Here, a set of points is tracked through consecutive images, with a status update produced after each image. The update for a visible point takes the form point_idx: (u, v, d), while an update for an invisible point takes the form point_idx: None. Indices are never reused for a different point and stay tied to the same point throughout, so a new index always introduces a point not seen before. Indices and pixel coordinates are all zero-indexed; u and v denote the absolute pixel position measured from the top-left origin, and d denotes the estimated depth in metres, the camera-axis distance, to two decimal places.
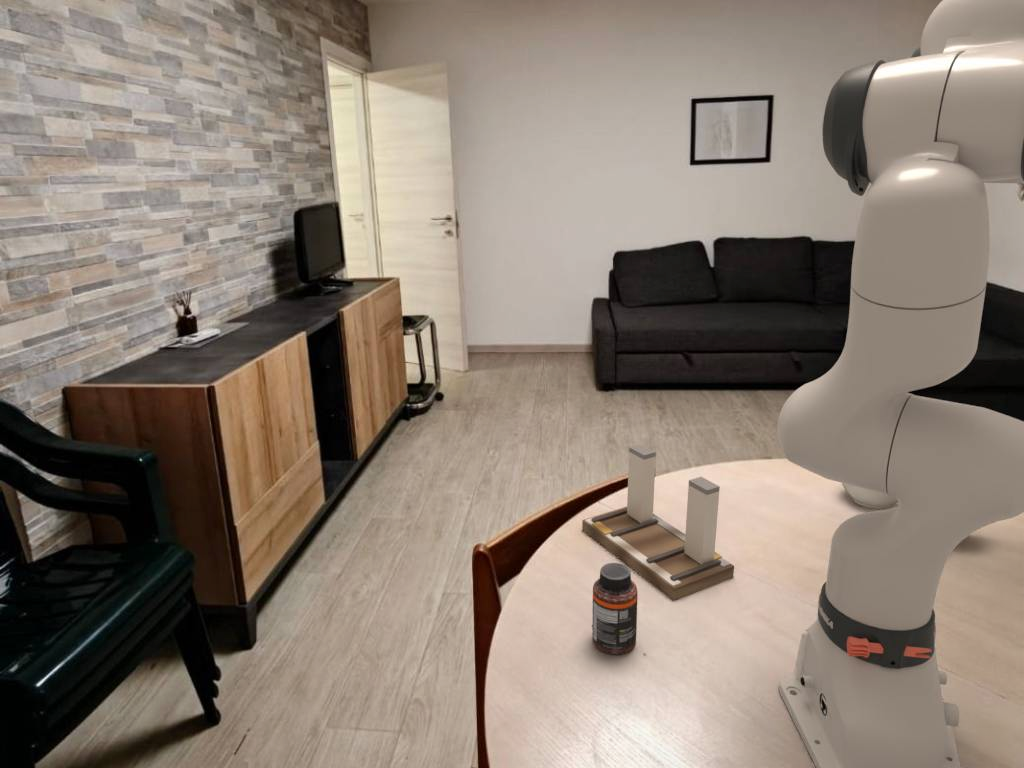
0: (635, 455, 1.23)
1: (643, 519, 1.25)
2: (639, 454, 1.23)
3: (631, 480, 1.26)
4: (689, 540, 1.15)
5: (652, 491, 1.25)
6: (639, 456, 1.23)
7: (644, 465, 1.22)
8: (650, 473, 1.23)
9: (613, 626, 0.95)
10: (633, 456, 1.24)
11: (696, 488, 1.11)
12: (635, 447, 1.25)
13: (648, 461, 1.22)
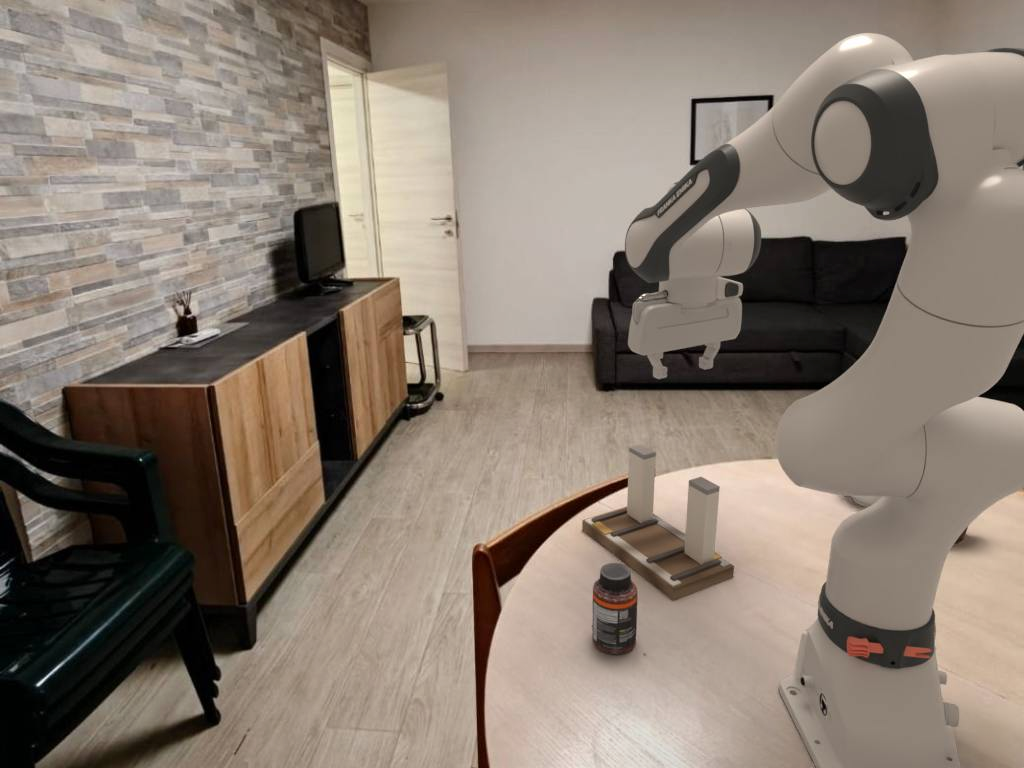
0: (635, 455, 1.23)
1: (643, 519, 1.25)
2: (639, 454, 1.23)
3: (631, 480, 1.26)
4: (689, 540, 1.15)
5: (652, 491, 1.25)
6: (639, 456, 1.23)
7: (644, 465, 1.22)
8: (650, 473, 1.23)
9: (613, 626, 0.95)
10: (633, 456, 1.24)
11: (696, 488, 1.11)
12: (635, 447, 1.25)
13: (648, 461, 1.22)
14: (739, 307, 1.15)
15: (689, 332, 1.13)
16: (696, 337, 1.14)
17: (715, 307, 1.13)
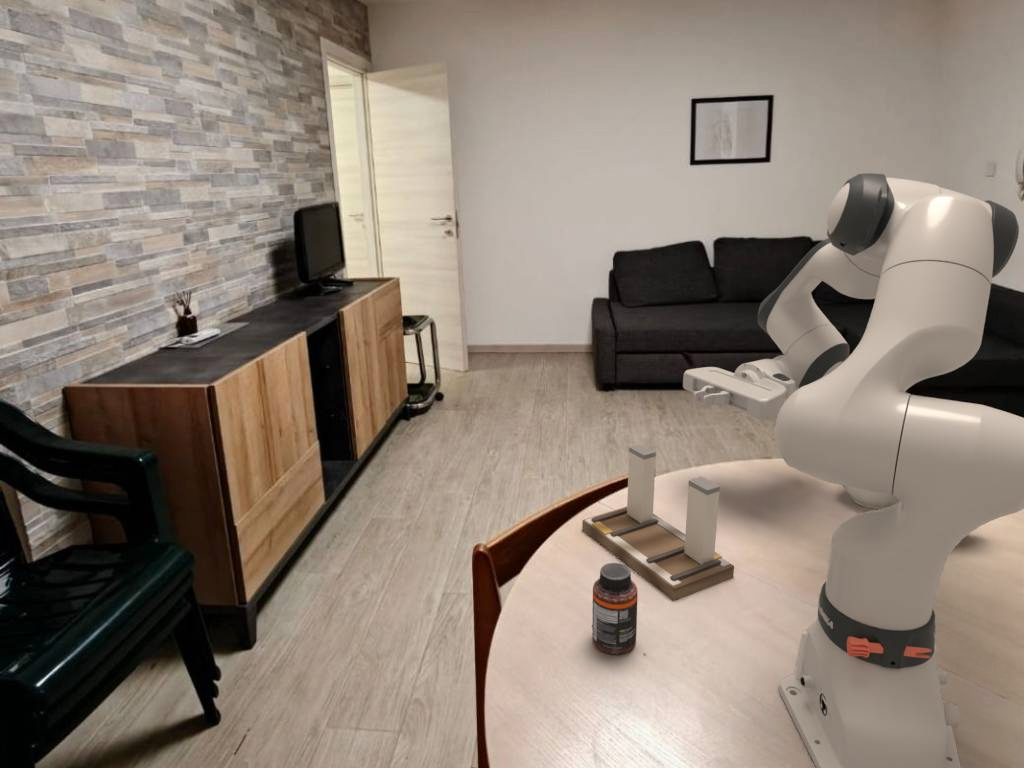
0: (635, 455, 1.23)
1: (643, 519, 1.25)
2: (639, 454, 1.23)
3: (631, 480, 1.26)
4: (689, 540, 1.15)
5: (652, 491, 1.25)
6: (639, 456, 1.23)
7: (644, 465, 1.22)
8: (650, 473, 1.23)
9: (613, 626, 0.95)
10: (633, 456, 1.24)
11: (696, 488, 1.11)
12: (635, 447, 1.25)
13: (648, 461, 1.22)
14: (781, 389, 1.24)
15: (727, 381, 1.30)
16: (729, 384, 1.29)
17: (760, 383, 1.28)
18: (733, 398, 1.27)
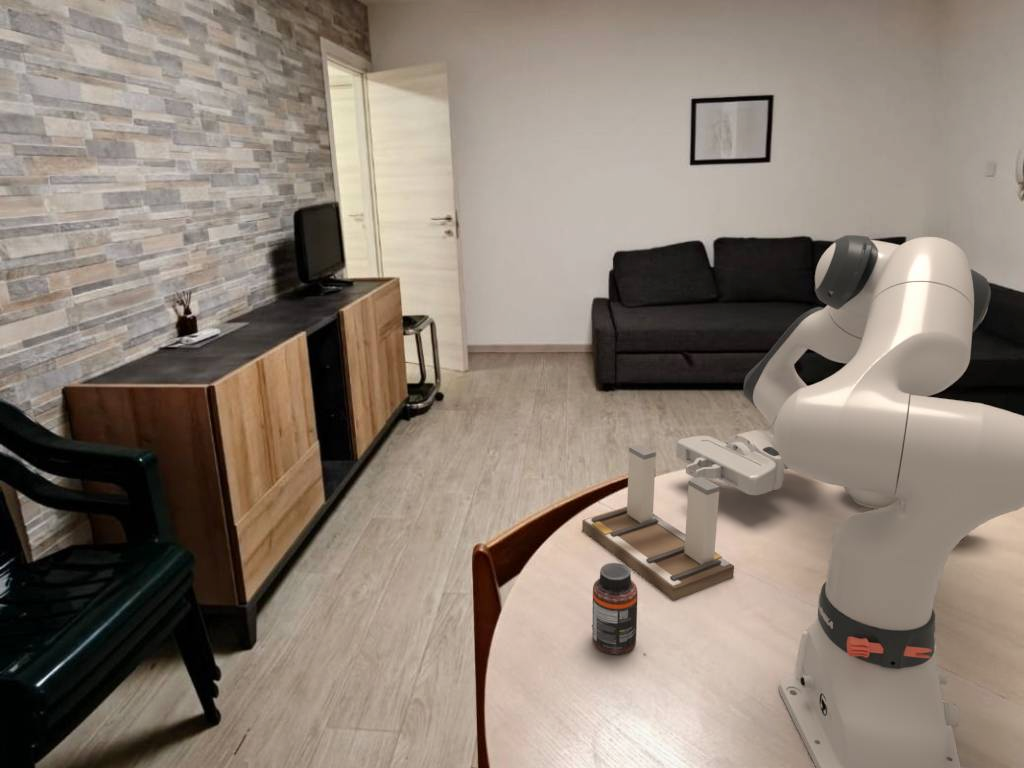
0: (635, 455, 1.23)
1: (643, 519, 1.25)
2: (639, 454, 1.23)
3: (631, 480, 1.26)
4: (689, 540, 1.15)
5: (652, 491, 1.25)
6: (639, 456, 1.23)
7: (644, 465, 1.22)
8: (650, 473, 1.23)
9: (613, 626, 0.95)
10: (633, 456, 1.24)
11: (696, 488, 1.11)
12: (635, 447, 1.25)
13: (648, 461, 1.22)
14: (770, 465, 1.28)
15: (718, 453, 1.34)
16: (720, 457, 1.33)
17: (751, 456, 1.32)
18: (724, 472, 1.31)
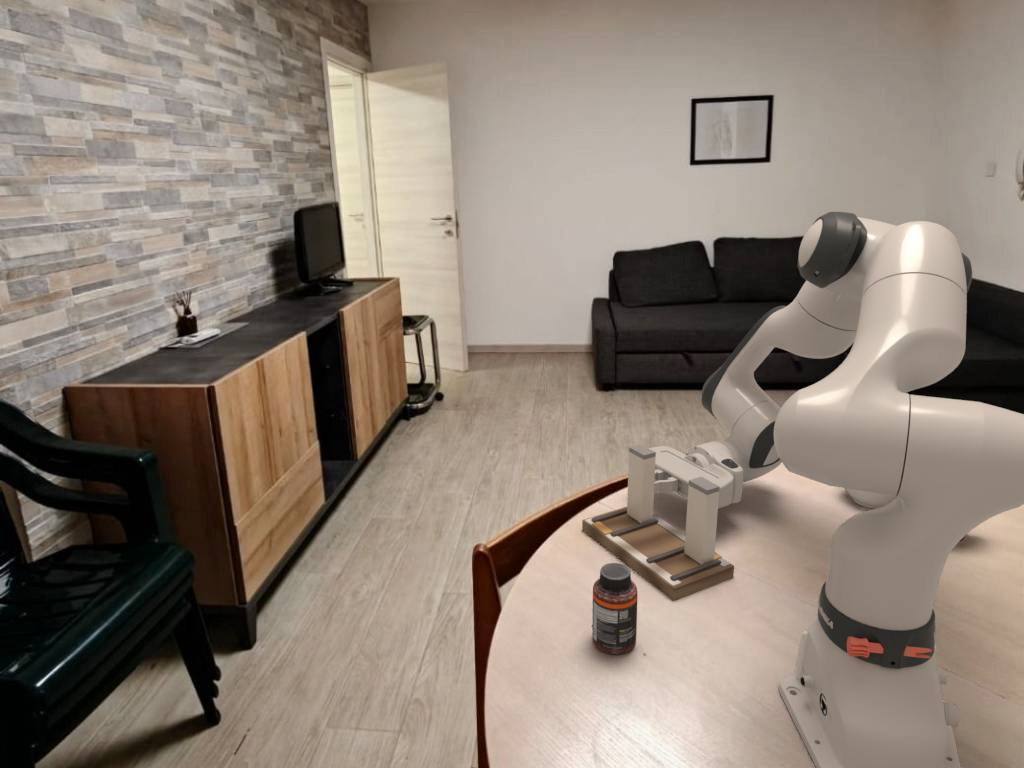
0: (635, 455, 1.23)
1: (643, 519, 1.25)
2: (639, 454, 1.23)
3: (631, 480, 1.26)
4: (689, 540, 1.15)
5: (652, 491, 1.25)
6: (639, 456, 1.23)
7: (644, 465, 1.22)
8: (650, 473, 1.23)
9: (613, 626, 0.95)
10: (633, 456, 1.24)
11: (696, 488, 1.11)
12: (635, 447, 1.25)
13: (648, 461, 1.22)
14: (727, 478, 1.23)
15: (676, 465, 1.30)
16: (678, 469, 1.28)
17: (709, 469, 1.27)
18: (681, 485, 1.26)
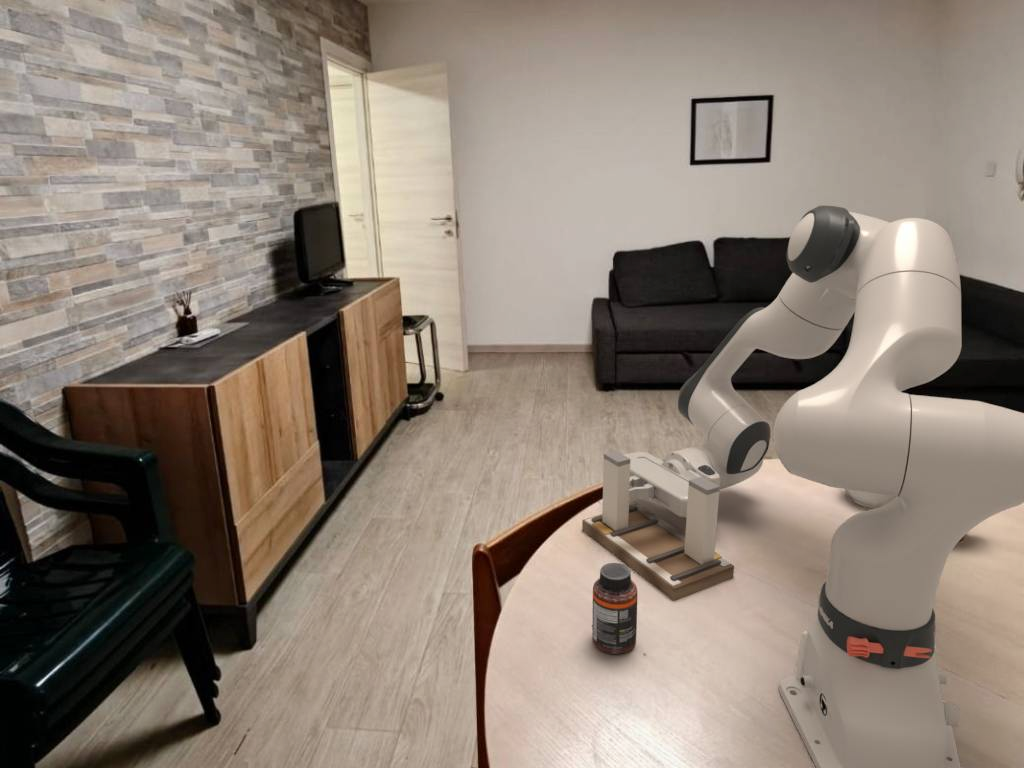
0: (610, 461, 1.21)
1: (618, 527, 1.23)
2: (613, 461, 1.20)
3: (606, 487, 1.23)
4: (689, 540, 1.15)
5: (627, 499, 1.22)
6: (613, 463, 1.20)
7: (618, 472, 1.20)
8: (625, 480, 1.21)
9: (613, 626, 0.95)
10: (607, 463, 1.22)
11: (696, 488, 1.11)
12: (610, 454, 1.22)
13: (623, 468, 1.20)
14: None
15: (652, 472, 1.27)
16: (654, 476, 1.26)
17: (685, 475, 1.25)
18: (657, 492, 1.24)
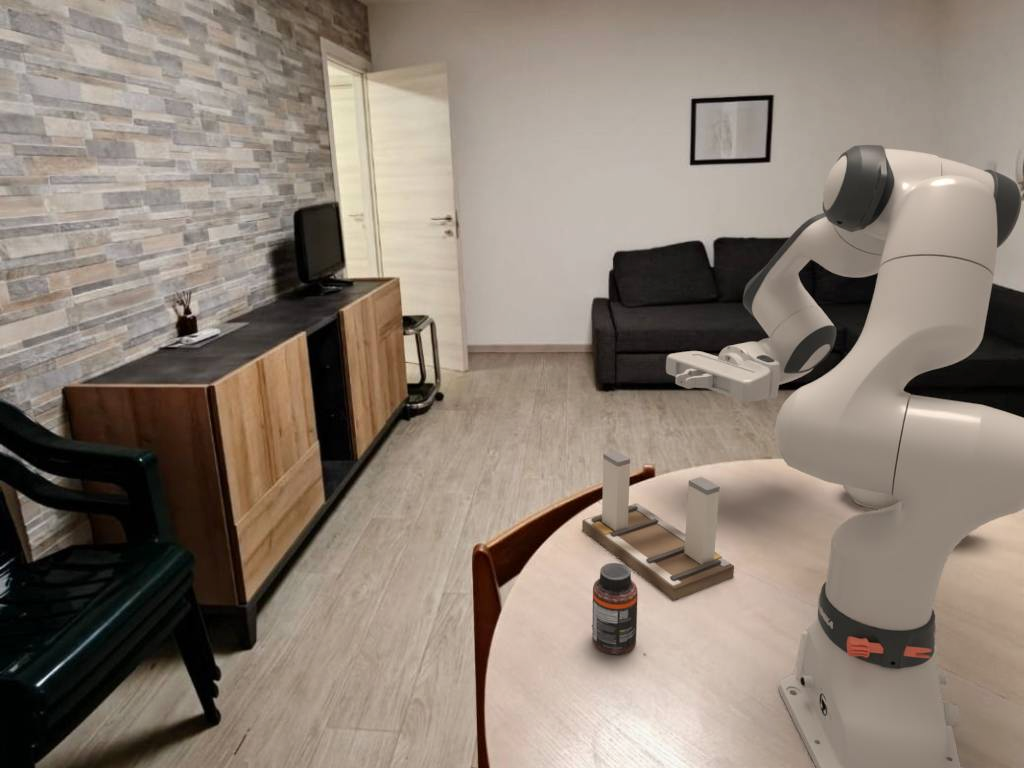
0: (609, 461, 1.21)
1: (617, 527, 1.23)
2: (613, 461, 1.20)
3: (605, 487, 1.23)
4: (689, 540, 1.15)
5: (627, 499, 1.22)
6: (613, 463, 1.20)
7: (618, 472, 1.20)
8: (624, 480, 1.21)
9: (613, 626, 0.95)
10: (607, 463, 1.22)
11: (696, 488, 1.11)
12: (609, 454, 1.22)
13: (622, 468, 1.20)
14: (764, 370, 1.20)
15: (710, 364, 1.27)
16: (712, 366, 1.25)
17: (744, 365, 1.25)
18: (716, 381, 1.24)
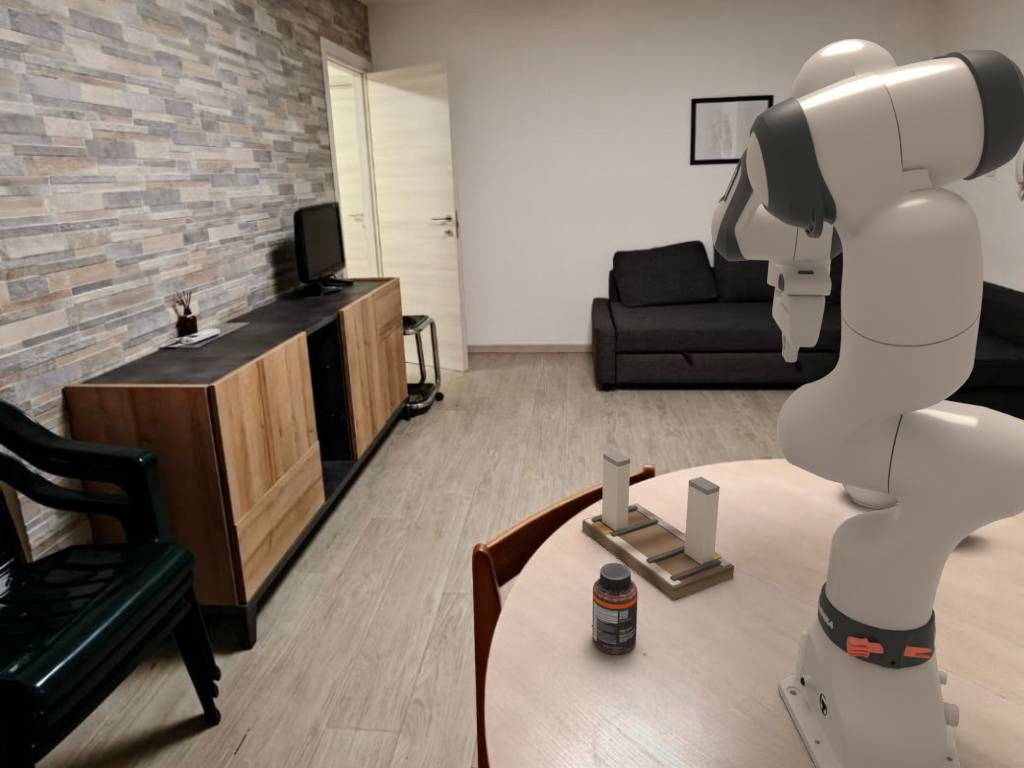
0: (609, 461, 1.21)
1: (617, 527, 1.23)
2: (613, 461, 1.20)
3: (605, 487, 1.23)
4: (689, 540, 1.15)
5: (627, 499, 1.22)
6: (613, 463, 1.20)
7: (618, 472, 1.20)
8: (624, 480, 1.21)
9: (613, 626, 0.95)
10: (607, 463, 1.22)
11: (696, 488, 1.11)
12: (609, 454, 1.22)
13: (622, 468, 1.20)
14: (788, 308, 1.06)
15: (780, 314, 1.15)
16: (781, 322, 1.14)
17: None
18: None
